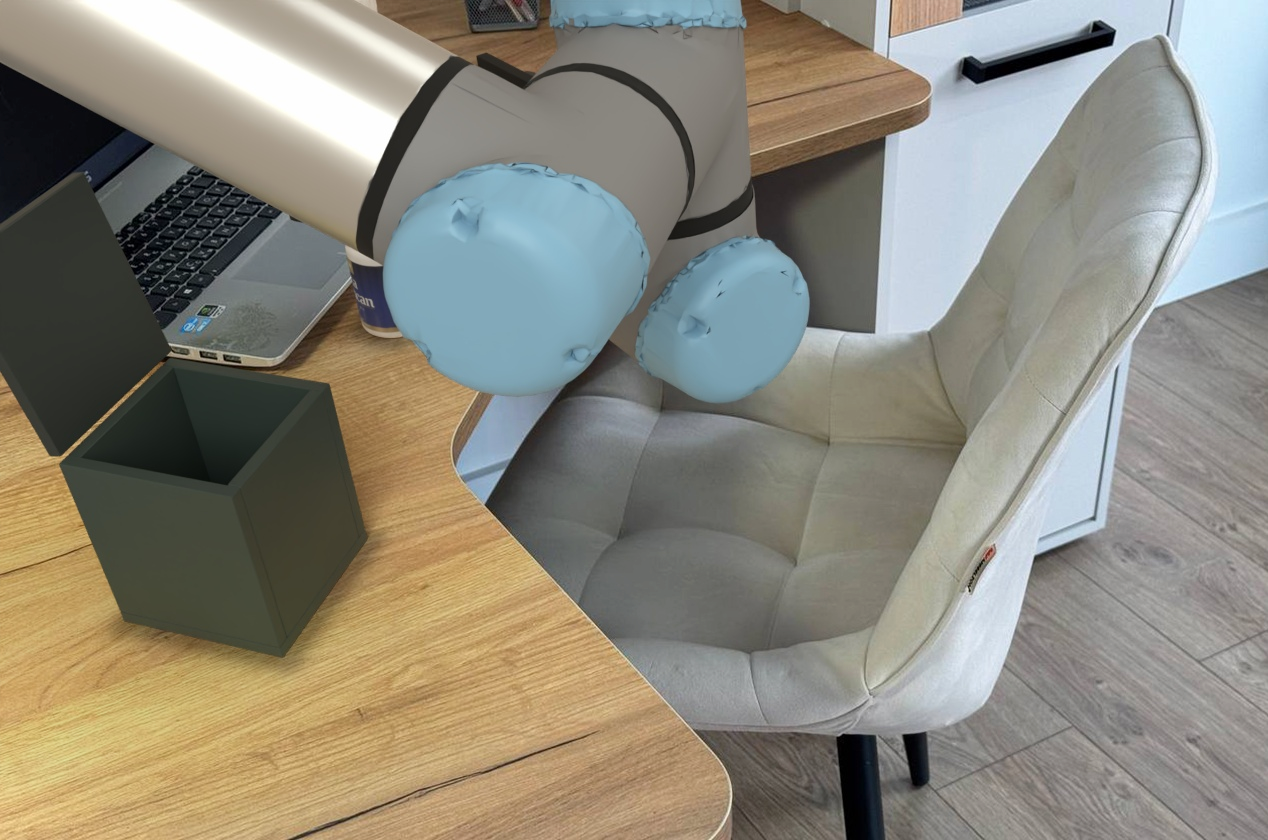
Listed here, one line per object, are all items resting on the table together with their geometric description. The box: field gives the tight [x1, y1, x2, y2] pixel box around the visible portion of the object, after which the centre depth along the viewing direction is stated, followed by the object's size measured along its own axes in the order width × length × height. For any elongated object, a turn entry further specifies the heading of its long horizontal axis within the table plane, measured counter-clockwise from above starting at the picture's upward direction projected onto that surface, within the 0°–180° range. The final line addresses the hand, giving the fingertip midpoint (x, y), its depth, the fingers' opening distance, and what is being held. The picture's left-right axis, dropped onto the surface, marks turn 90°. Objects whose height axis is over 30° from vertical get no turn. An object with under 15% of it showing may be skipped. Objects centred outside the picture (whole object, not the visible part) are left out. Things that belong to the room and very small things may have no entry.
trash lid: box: [0, 171, 173, 458], centre depth 69 cm, size 11×10×1 cm
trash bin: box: [58, 357, 368, 658], centre depth 75 cm, size 11×10×12 cm
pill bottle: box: [344, 244, 404, 339], centre depth 97 cm, size 5×5×10 cm
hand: (389, 105), depth 82 cm, fingers open, 13 cm apart
